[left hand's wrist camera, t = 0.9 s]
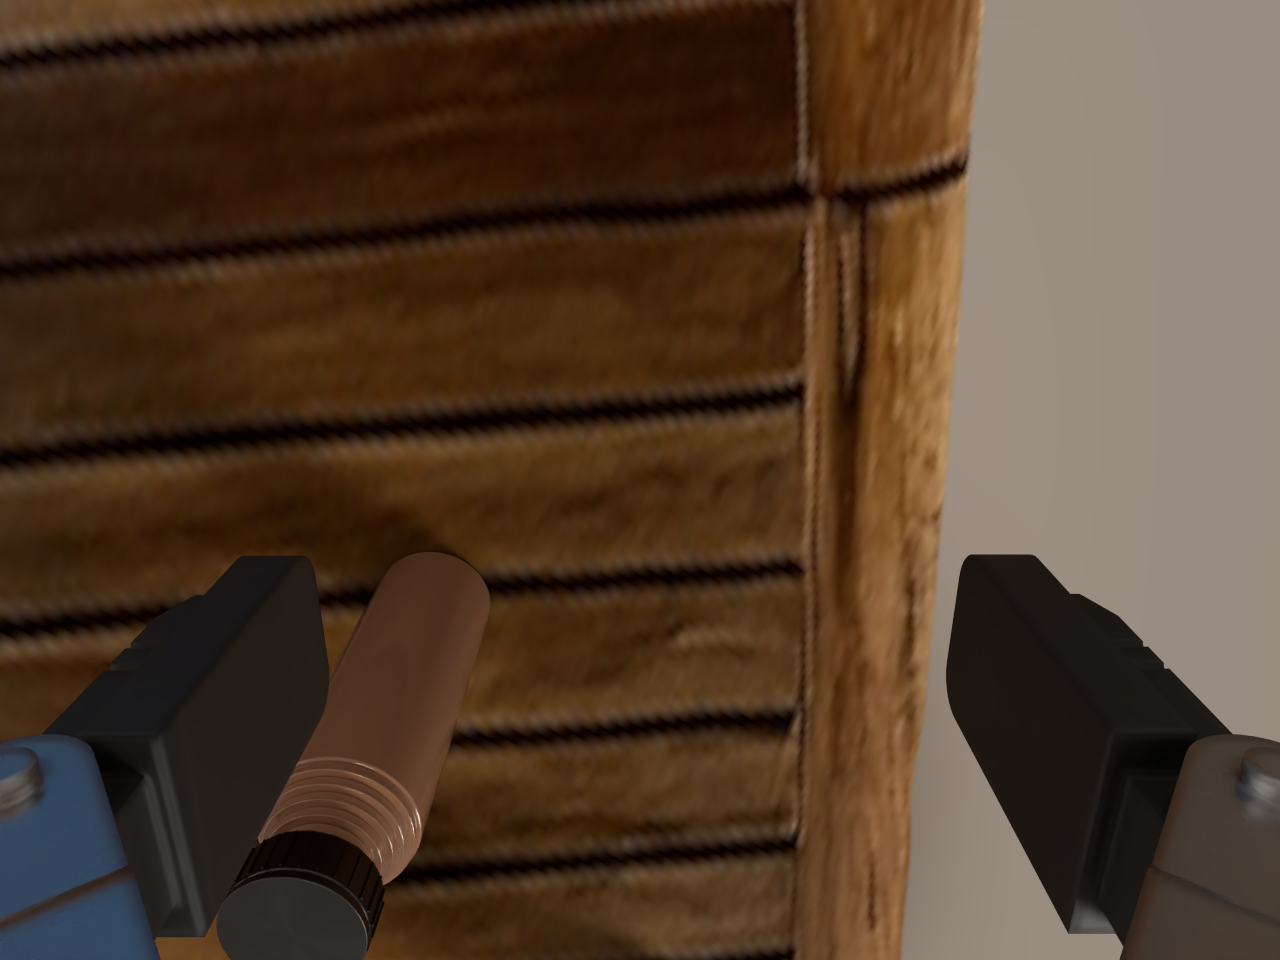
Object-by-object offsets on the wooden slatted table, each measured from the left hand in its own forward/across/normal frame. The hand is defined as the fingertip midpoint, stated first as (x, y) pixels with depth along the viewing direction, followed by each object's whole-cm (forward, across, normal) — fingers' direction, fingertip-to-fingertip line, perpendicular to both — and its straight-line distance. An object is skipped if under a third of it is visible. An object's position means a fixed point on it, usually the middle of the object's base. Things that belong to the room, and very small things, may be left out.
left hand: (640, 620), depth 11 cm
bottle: (+29, -10, -16) cm, 35 cm away
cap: (+10, -10, -16) cm, 21 cm away
